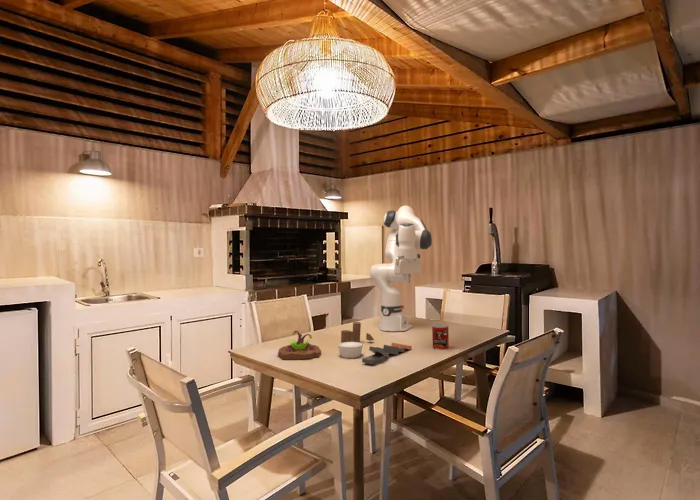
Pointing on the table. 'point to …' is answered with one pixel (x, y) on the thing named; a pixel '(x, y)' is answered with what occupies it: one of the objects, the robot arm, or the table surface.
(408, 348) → the tile
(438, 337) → the canned food
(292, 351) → the plant
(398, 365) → the table surface
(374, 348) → the tile
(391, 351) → the tile
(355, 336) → the wooden block set
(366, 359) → the tile
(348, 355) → the ramekin
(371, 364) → the tile
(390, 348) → the tile
